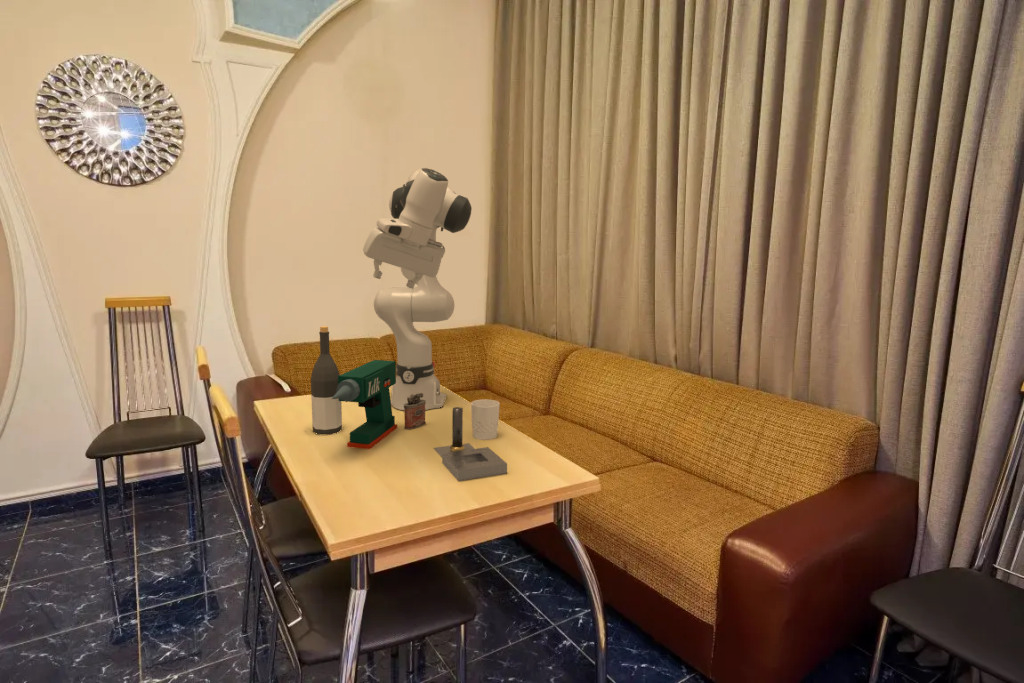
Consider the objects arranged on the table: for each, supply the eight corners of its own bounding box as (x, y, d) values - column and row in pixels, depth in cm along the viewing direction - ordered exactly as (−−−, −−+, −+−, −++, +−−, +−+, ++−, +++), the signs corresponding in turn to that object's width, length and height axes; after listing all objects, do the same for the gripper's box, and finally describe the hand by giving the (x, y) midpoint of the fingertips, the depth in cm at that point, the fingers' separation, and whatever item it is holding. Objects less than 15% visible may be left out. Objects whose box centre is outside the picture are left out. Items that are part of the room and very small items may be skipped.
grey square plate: (433, 449, 155) (433, 447, 155) (468, 444, 159) (468, 443, 159) (444, 462, 146) (444, 460, 146) (482, 457, 150) (482, 455, 150)
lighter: (410, 432, 169) (409, 398, 168) (401, 429, 171) (400, 396, 170) (428, 425, 176) (428, 392, 174) (419, 423, 178) (419, 390, 176)
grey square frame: (442, 464, 145) (442, 453, 144) (487, 458, 150) (488, 447, 149) (458, 483, 134) (458, 470, 134) (506, 475, 139) (507, 463, 139)
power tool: (347, 468, 142) (345, 386, 139) (320, 465, 143) (318, 384, 140) (399, 428, 173) (398, 360, 169) (376, 426, 174) (375, 359, 171)
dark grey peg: (452, 448, 155) (452, 406, 153) (465, 449, 154) (466, 407, 152) (448, 453, 151) (448, 409, 150) (462, 454, 151) (462, 410, 149)
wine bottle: (325, 437, 164) (321, 329, 159) (306, 431, 168) (302, 326, 163) (348, 429, 170) (345, 326, 165) (329, 424, 175) (326, 323, 170)
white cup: (499, 433, 170) (499, 399, 168) (498, 442, 162) (499, 407, 160) (471, 432, 170) (472, 399, 168) (469, 442, 162) (470, 406, 160)
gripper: (442, 241, 159) (424, 288, 162) (372, 216, 147) (353, 268, 150) (452, 248, 154) (432, 296, 157) (379, 223, 142) (360, 275, 145)
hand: (393, 282), depth 153 cm, fingers open, 8 cm apart
